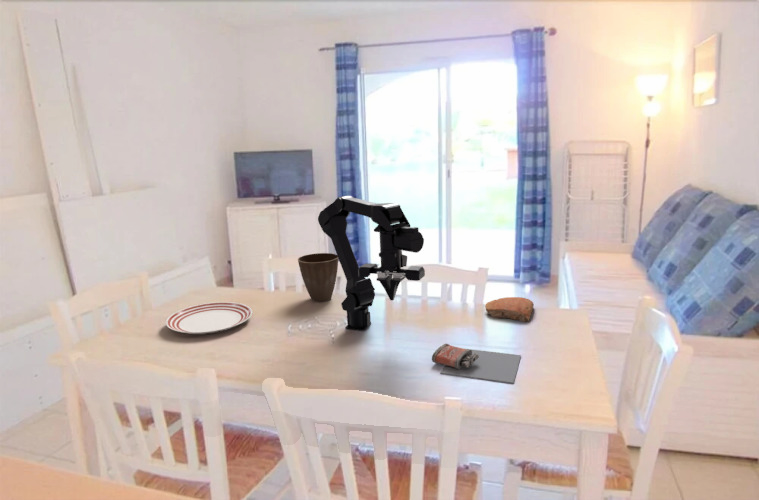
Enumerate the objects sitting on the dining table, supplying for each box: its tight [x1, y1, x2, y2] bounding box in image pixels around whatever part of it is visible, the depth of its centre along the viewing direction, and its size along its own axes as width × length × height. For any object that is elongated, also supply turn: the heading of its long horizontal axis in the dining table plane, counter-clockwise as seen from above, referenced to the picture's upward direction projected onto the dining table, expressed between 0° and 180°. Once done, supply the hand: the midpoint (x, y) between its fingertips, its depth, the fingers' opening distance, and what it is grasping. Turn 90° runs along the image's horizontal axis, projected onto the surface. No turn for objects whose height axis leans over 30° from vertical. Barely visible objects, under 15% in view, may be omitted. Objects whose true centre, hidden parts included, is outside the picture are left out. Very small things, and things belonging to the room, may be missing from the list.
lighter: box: [431, 343, 479, 369], centre depth 132 cm, size 8×3×10 cm
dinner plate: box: [165, 301, 253, 335], centre depth 169 cm, size 28×27×3 cm
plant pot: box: [297, 252, 339, 303], centre depth 189 cm, size 15×15×16 cm
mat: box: [439, 347, 522, 385], centre depth 132 cm, size 18×16×1 cm
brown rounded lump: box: [484, 296, 534, 323], centre depth 168 cm, size 15×6×15 cm
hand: (392, 299), depth 149 cm, fingers closed
